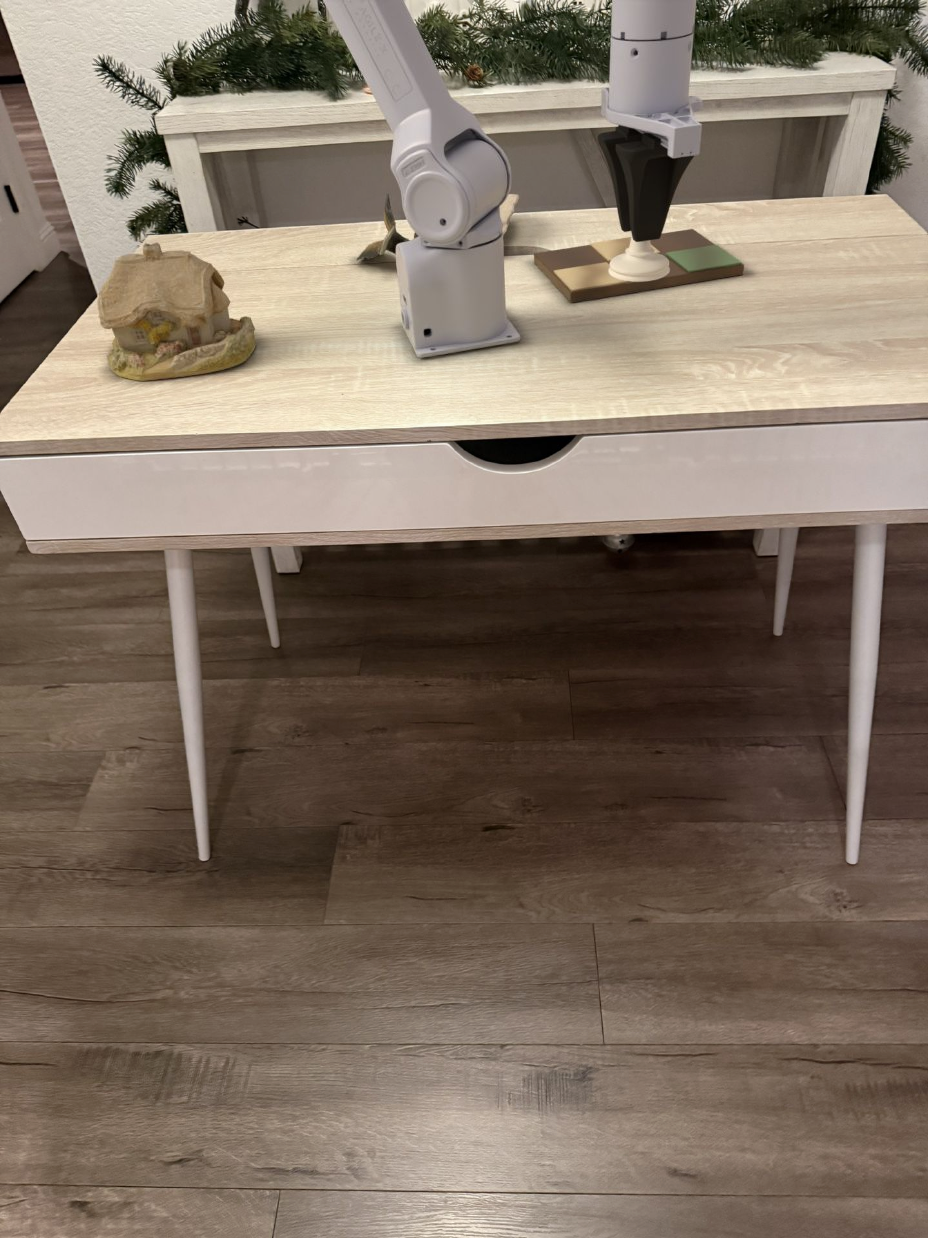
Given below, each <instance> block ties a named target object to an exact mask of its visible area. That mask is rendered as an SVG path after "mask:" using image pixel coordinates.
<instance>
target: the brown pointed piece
mask: <svg viewBox="0 0 928 1238" xmlns="http://www.w3.org/2000/svg"><path fill="white" fill-rule="evenodd" d="M383 223H384V226H385V228H386V230H387V234H386V235H385V237H384V238H383V239H381V240H376V241H373V242H372V243H370V244H368V245H367V246H365V248H364V249H363V251H362V252H361V253H360V254H359V256H358V257H357V258H356V261H359V260H361V259H364V258H366V259H367V260H371V259H376V257H378V256H379V255H380V256H383V255H384V254H385V253H386V251H387V252H390V253H392V254H394V255H395V256H396V245H397V244H399V243H402V242H407V241H410V240H411V239H409V238H407V237H406V236H405V237H404V236H403V235H402V234H400V233H399V232H398V231H397V228H396V226H397V225H396V224H397V223H396V221H395V217H394V214H393V212H392V207H391V199H390V195H389V193H386V198H385V202H384V208H383ZM417 237H418V235H417V234H416V233H415V232H414V234H413V239H415V238H417Z"/></svg>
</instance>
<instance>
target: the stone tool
mask: <svg viewBox="0 0 928 1238" xmlns="http://www.w3.org/2000/svg"><path fill="white" fill-rule="evenodd" d="M519 200H520V195H519V194H515V193H509V194H508V197H507V198H506V200H505V201H504V203H503V204H502V205H501V206H500V218H501V220H502V224H503V237H504V236H505V234H506V232H507V231H508V227H509V225H510V221H511V220H510V219H511V217H512V216H513V214H514V213H515V207H516V206H517V205H518V201H519Z"/></svg>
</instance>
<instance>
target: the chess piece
mask: <svg viewBox="0 0 928 1238" xmlns="http://www.w3.org/2000/svg"><path fill="white" fill-rule="evenodd" d="M630 237H631V242H630V246H629V248H627V249H626V250H625V252H626V253H623V254H620V255H618V256H616V257H614V258H613V259H612V260H611V261H610V264H609V265H610V268H609V270H608V272H609V274H610V275H611V276H612V277H614V278H616V279H619V280H624V281H631V282H644V281H652V280H656V279H660V278H662V277H664V276H666V275H667V274H668V273H669V271H670V268H669V260H668V259H667V258H666V257H665V256H663V255H661V254H658V253H655V252H654V251H655V250H654V248H652V247H651V243H650V240H648V241H642V242H635V241H634V240H633V237H632V235H631V236H630Z"/></svg>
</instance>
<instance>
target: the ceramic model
mask: <svg viewBox="0 0 928 1238" xmlns="http://www.w3.org/2000/svg"><path fill="white" fill-rule="evenodd" d="M224 286H225V280H224V279H223V276H222V275H221V274H220V272H219V270H218V269H216V267H214V266H213V264H212V263H211V262H208V261H206V260H203V259H201V258H199V257H198V256H196V255H195V254H192V253H191V251H190V250H189V251H187V250H186V251H185V250H181V249H180V250H167V251H166V250H165V251H163V250H162V248H161V244H160V243H159V242H157V241H156V242H154V243H151V244H150V243H146V242H145V243H144V244H143V246H142V253H128V254H124V255H120V256H119V257H118V258H116V259H115V260H114V264H113V267H112V270H111V272H110V274H109V276H108V277H107V280H106V281H105V282H104V283H103V285H102V286H101V288H100V290H99V292H98V298H97V302H96V303H97V310H98V313H99V314H98V318H99V321H100V325H101V327H102V328H103V329H107V330H112V333H113V335H114V338H113V340H112V341H111V345H112V347H113V348H112V349H109V351H108V354H107V355H106V357H107V358H106V359H107V364H108V366H109V369H110V370H111V371H112V372H113V373H114V374H115V375H116V376H118V377H121V378H125V379H128V380H134V381H140V382H145V381H156V380H163V379H164V380H165V379H172V378H174V379H175V378H180V377H181V378H182V377H189V376H197V375H203V374H208V373H213V372H218V371H223V370H225V369H227V370H228V369H231V368H232V367H236V366H239V365H240V364H242V363H244V362H246V361H247V360H248V358H250V356H251V355H252V353H253V352H254V351H255V348H256V339H255V330H256V328H255V325H254V323H253V320H252V318H251V317H250V316H247V315H246V316H245V315H244V316H242V317H240V318H239V319H235V318H233V317H230V313H229V307H230V304H231V300H230V299H229V297H228V295H227V293H225V291H223V289H224V288H225V287H224Z"/></svg>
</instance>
